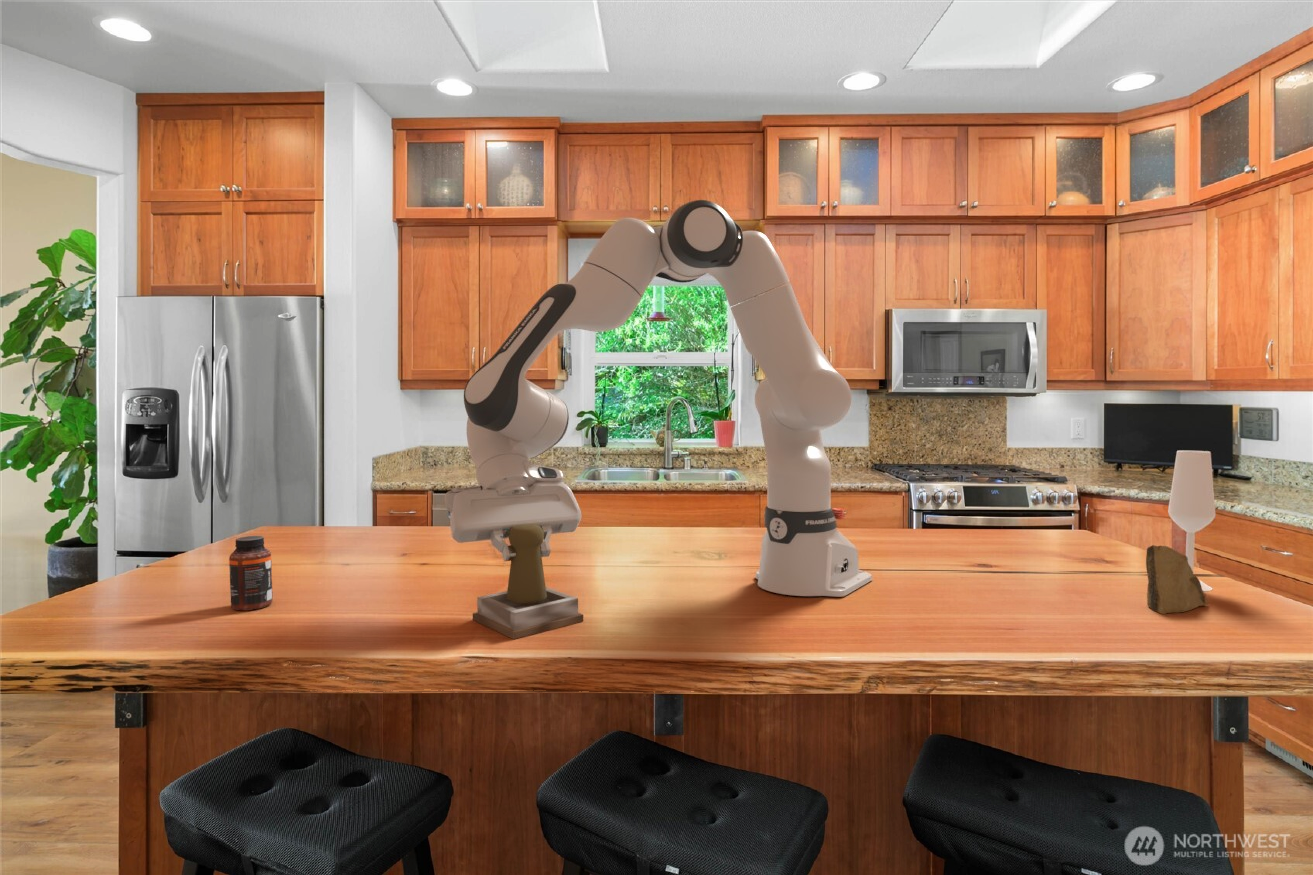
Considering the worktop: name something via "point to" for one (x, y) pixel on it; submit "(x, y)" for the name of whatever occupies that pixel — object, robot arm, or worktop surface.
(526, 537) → the cork
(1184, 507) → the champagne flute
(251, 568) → the supplement bottle
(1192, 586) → the rock
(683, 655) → the worktop surface
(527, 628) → the socket mount
